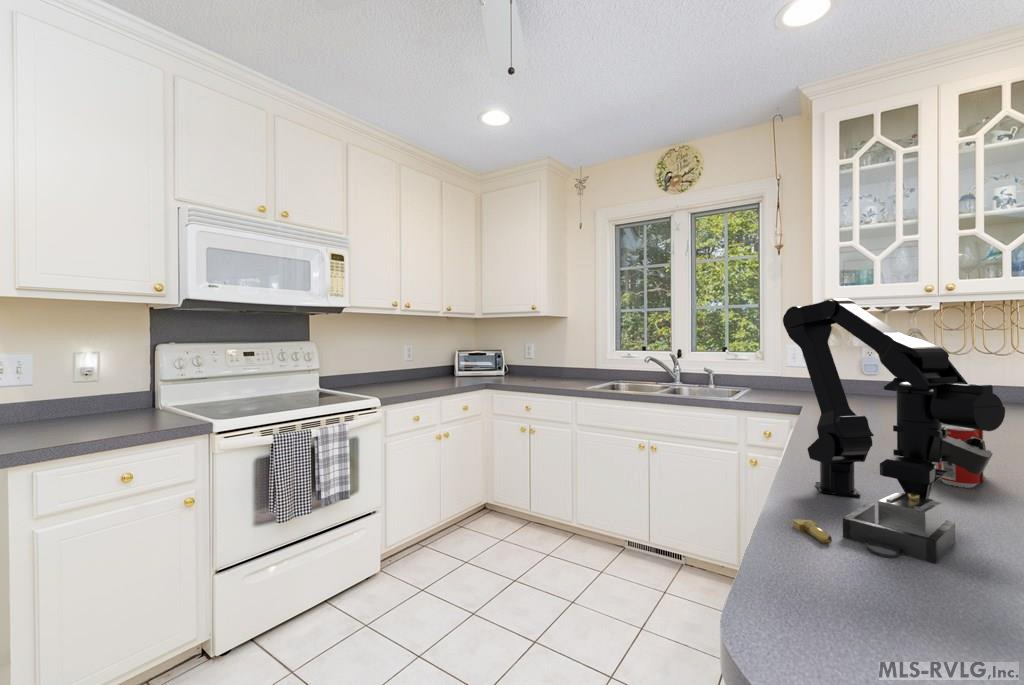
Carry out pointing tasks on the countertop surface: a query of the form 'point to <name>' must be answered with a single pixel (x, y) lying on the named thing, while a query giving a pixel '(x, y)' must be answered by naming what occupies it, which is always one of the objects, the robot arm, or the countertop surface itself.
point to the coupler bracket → (896, 537)
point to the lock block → (910, 514)
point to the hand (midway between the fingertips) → (919, 512)
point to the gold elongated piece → (812, 530)
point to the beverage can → (956, 473)
